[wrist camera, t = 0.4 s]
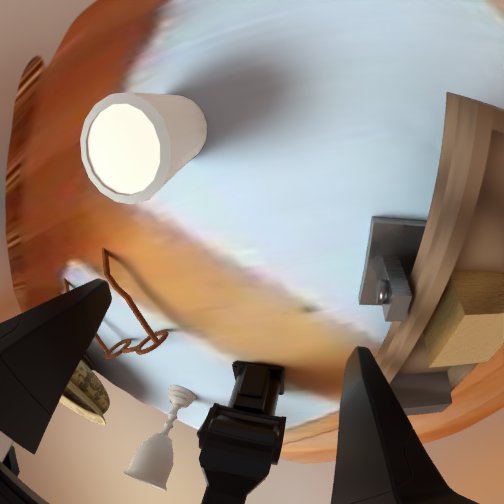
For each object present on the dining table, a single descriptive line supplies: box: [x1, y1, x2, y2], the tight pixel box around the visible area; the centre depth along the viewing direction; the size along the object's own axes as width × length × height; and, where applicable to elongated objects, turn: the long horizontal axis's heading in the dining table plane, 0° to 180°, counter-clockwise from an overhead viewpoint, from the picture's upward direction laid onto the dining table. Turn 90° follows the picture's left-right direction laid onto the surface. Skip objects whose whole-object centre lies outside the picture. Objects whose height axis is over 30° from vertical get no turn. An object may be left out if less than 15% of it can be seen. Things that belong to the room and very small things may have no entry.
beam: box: [375, 92, 504, 416], centre depth 15 cm, size 28×10×6 cm, turn 4°
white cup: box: [80, 93, 207, 205], centre depth 17 cm, size 7×7×7 cm
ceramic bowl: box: [59, 355, 110, 425], centre depth 43 cm, size 30×24×10 cm
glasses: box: [63, 248, 168, 360], centre depth 31 cm, size 13×13×5 cm
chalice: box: [124, 385, 196, 491], centre depth 35 cm, size 7×7×18 cm
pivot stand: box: [358, 217, 427, 322], centre depth 18 cm, size 8×16×6 cm, turn 95°
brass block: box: [423, 269, 504, 367], centre depth 15 cm, size 6×6×4 cm
